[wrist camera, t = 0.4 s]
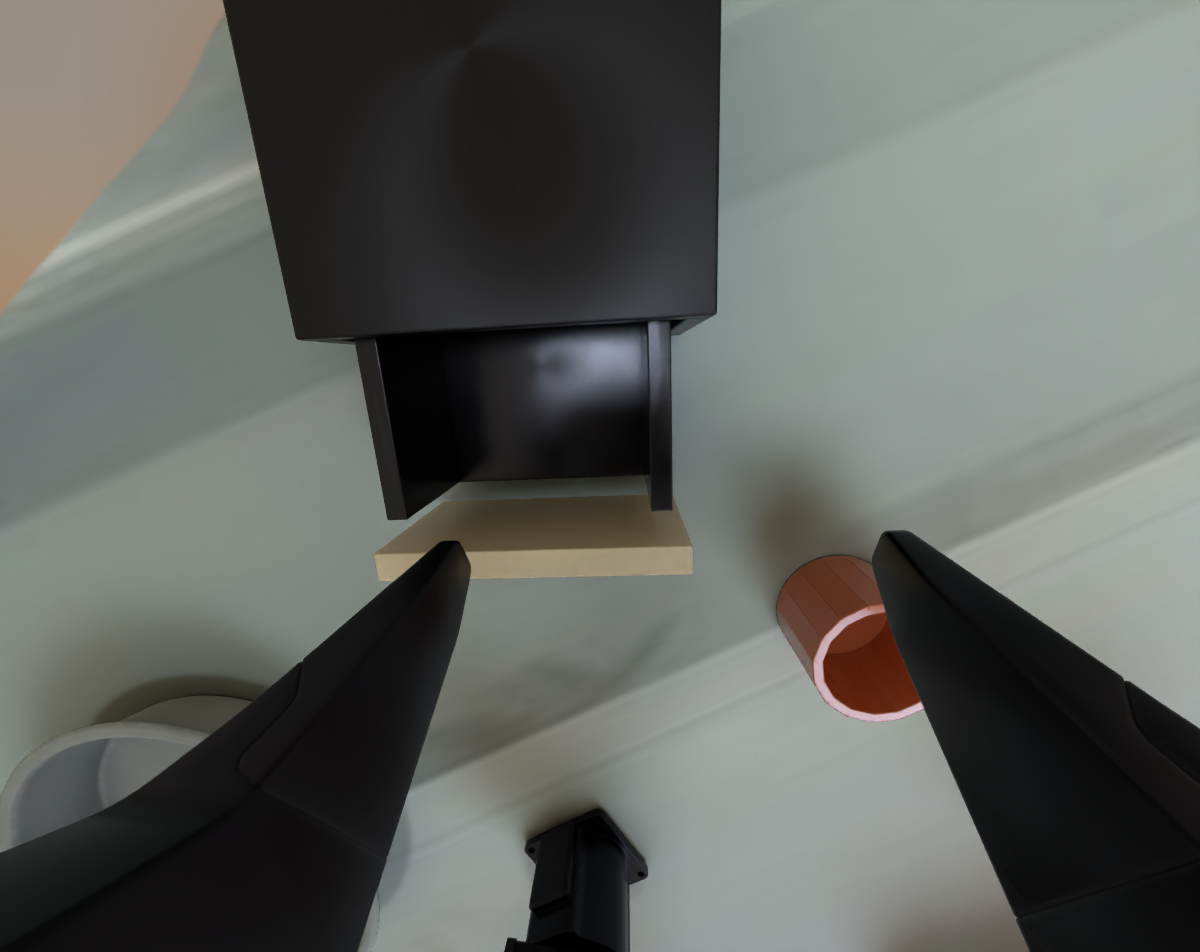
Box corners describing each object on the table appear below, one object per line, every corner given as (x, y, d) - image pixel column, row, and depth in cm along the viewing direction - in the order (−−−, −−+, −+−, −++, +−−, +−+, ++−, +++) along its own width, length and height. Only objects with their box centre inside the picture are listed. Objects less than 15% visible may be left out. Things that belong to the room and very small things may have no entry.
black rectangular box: (680, 334, 21) (717, 314, 13) (417, 350, 22) (294, 340, 14) (678, -33, 18) (727, -382, 10) (365, 3, 19) (157, -289, 10)
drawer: (672, 535, 23) (692, 602, 17) (449, 542, 24) (383, 608, 17) (669, 235, 20) (693, 168, 13) (406, 254, 20) (303, 200, 14)
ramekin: (909, 623, 25) (979, 685, 20) (807, 671, 26) (849, 741, 21) (861, 534, 23) (923, 578, 19) (756, 589, 25) (789, 643, 20)
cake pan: (30, 670, 29) (-76, 724, 25) (382, 672, 27) (336, 730, 23) (139, 928, 35) (69, 1008, 31) (432, 941, 33) (403, 1027, 29)
